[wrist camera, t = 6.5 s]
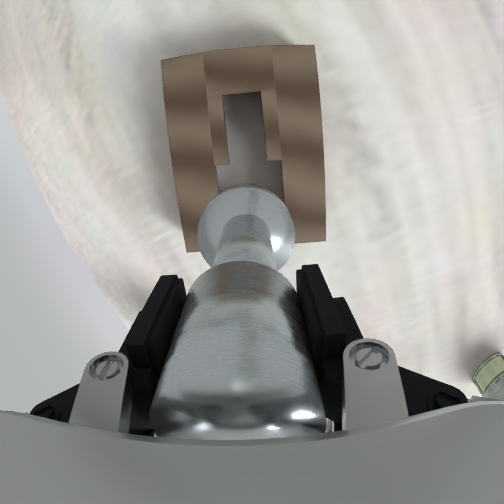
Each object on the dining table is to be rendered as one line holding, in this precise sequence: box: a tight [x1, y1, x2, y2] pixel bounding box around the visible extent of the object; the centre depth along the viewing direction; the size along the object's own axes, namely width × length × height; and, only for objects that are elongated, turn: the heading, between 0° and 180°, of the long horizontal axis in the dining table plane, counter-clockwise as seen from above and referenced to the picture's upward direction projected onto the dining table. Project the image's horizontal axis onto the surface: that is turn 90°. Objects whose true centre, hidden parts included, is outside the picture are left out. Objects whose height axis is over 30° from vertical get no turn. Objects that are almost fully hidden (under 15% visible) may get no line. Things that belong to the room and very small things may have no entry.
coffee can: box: [473, 353, 504, 400], centre depth 46 cm, size 10×10×14 cm
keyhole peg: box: [149, 184, 326, 440], centre depth 12 cm, size 6×6×14 cm
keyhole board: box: [161, 45, 326, 252], centre depth 32 cm, size 22×16×5 cm
